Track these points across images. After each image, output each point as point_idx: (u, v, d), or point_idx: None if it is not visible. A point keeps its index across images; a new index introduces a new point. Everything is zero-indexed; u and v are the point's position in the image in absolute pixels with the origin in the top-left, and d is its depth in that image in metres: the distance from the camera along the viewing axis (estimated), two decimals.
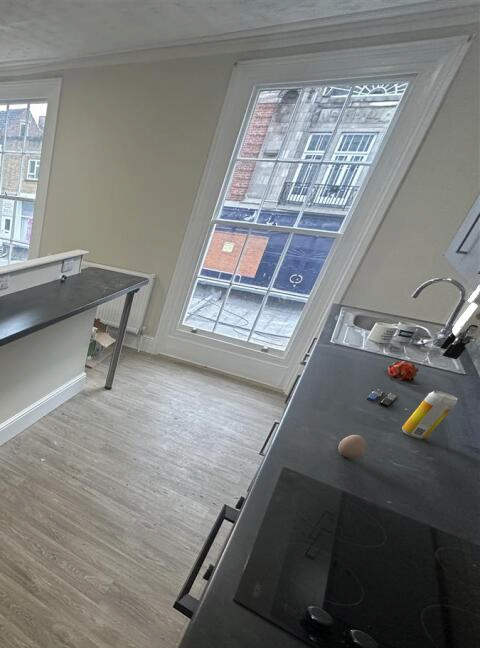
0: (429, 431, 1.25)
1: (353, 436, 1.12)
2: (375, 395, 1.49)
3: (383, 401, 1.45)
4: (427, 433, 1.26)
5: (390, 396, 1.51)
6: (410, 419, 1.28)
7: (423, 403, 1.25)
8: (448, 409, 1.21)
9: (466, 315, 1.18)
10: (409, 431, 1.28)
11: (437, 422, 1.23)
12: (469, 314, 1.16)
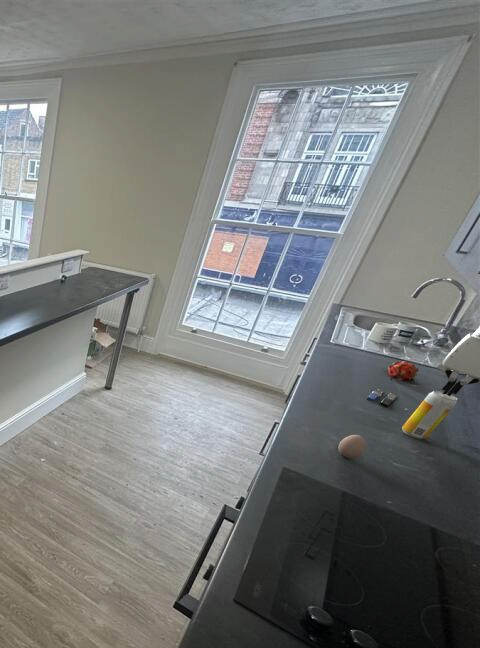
0: (429, 431, 1.25)
1: (353, 436, 1.12)
2: (375, 395, 1.49)
3: (383, 401, 1.45)
4: (427, 433, 1.26)
5: (390, 396, 1.51)
6: (410, 419, 1.28)
7: (423, 403, 1.25)
8: (448, 409, 1.21)
9: None
10: (409, 431, 1.28)
11: (437, 422, 1.23)
12: None
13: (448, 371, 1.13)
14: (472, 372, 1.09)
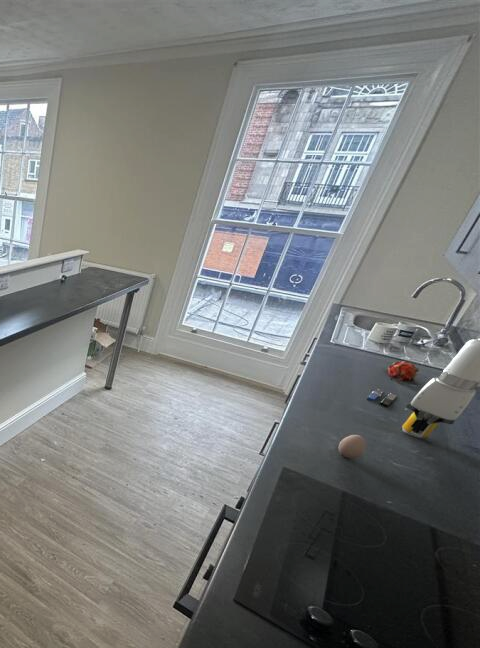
0: (429, 430, 1.26)
1: (353, 436, 1.12)
2: (375, 395, 1.49)
3: (383, 401, 1.45)
4: (427, 432, 1.26)
5: (390, 396, 1.51)
6: (410, 418, 1.29)
7: None
8: None
9: (456, 401, 1.16)
10: (409, 430, 1.28)
11: None
12: (464, 401, 1.15)
13: (416, 410, 1.24)
14: (437, 413, 1.20)
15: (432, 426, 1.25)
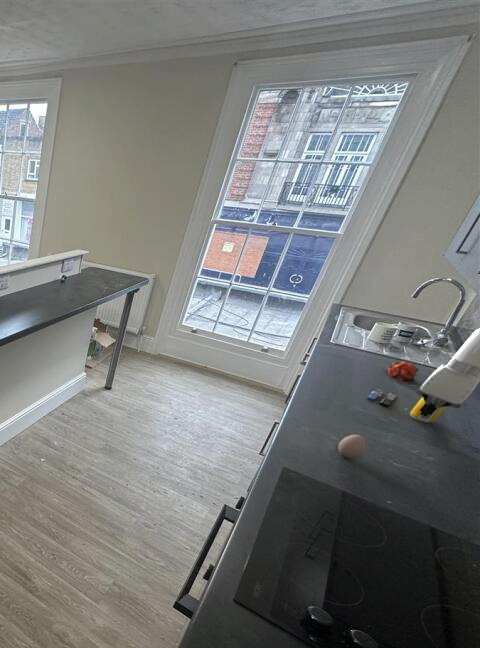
0: (435, 415, 1.34)
1: (353, 436, 1.12)
2: (375, 395, 1.49)
3: (383, 401, 1.45)
4: (433, 417, 1.35)
5: (390, 396, 1.51)
6: (417, 404, 1.38)
7: None
8: None
9: (463, 386, 1.25)
10: (416, 415, 1.37)
11: (443, 407, 1.33)
12: (471, 386, 1.24)
13: (425, 395, 1.33)
14: (444, 397, 1.29)
15: (438, 411, 1.34)
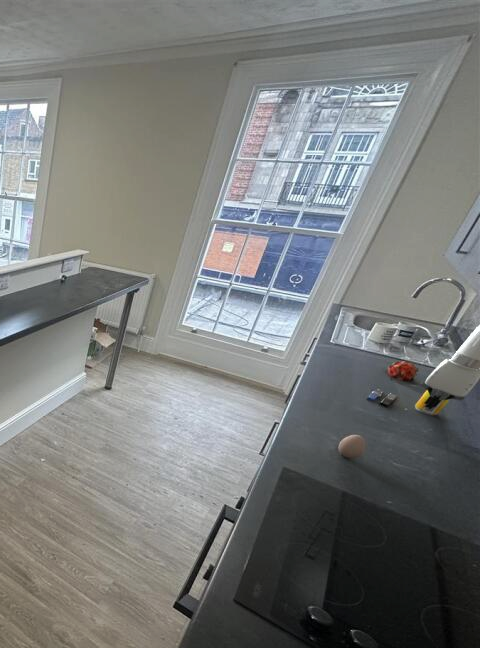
0: (439, 408, 1.40)
1: (353, 436, 1.12)
2: (375, 395, 1.49)
3: (383, 401, 1.45)
4: (437, 409, 1.40)
5: (390, 396, 1.51)
6: (422, 397, 1.43)
7: None
8: None
9: (466, 379, 1.30)
10: (421, 408, 1.43)
11: None
12: (474, 379, 1.29)
13: (429, 388, 1.38)
14: (448, 390, 1.34)
15: (442, 404, 1.39)
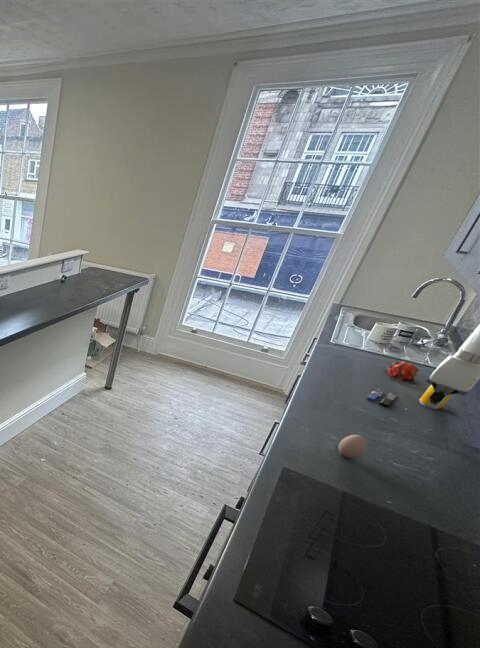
0: (444, 402, 1.44)
1: (353, 436, 1.12)
2: (375, 395, 1.49)
3: (383, 401, 1.45)
4: (442, 403, 1.45)
5: (390, 396, 1.51)
6: (427, 392, 1.47)
7: None
8: None
9: (469, 374, 1.34)
10: (426, 402, 1.47)
11: None
12: (477, 375, 1.33)
13: (434, 384, 1.42)
14: (452, 385, 1.38)
15: (446, 398, 1.43)
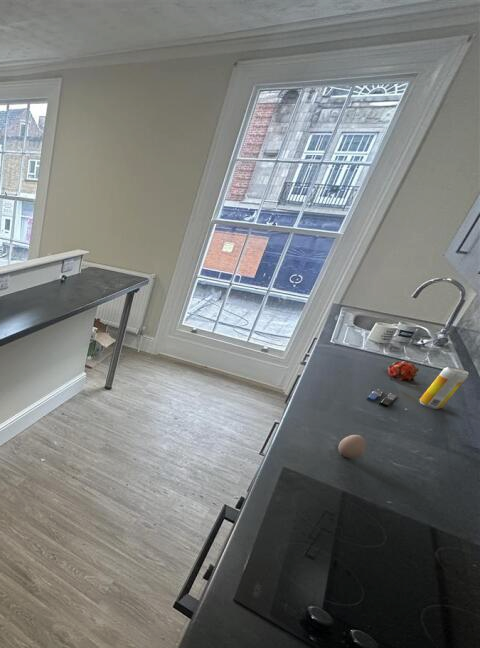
0: (444, 402, 1.44)
1: (353, 436, 1.12)
2: (375, 395, 1.49)
3: (383, 401, 1.45)
4: (442, 403, 1.45)
5: (390, 396, 1.51)
6: (427, 392, 1.47)
7: (438, 377, 1.44)
8: (460, 382, 1.40)
9: None
10: (426, 402, 1.47)
11: (451, 393, 1.42)
12: None
13: None
14: None
15: (446, 398, 1.43)
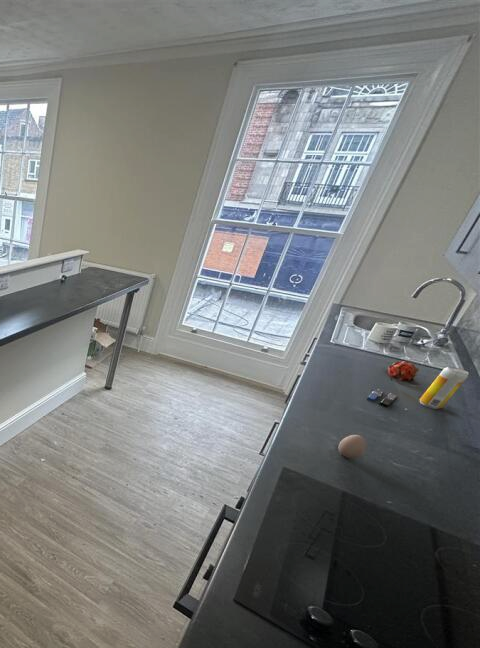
0: (444, 402, 1.44)
1: (353, 436, 1.12)
2: (375, 395, 1.49)
3: (383, 401, 1.45)
4: (442, 403, 1.45)
5: (390, 396, 1.51)
6: (427, 392, 1.47)
7: (438, 377, 1.44)
8: (460, 382, 1.40)
9: None
10: (426, 402, 1.47)
11: (451, 393, 1.42)
12: None
13: None
14: None
15: (446, 398, 1.43)
